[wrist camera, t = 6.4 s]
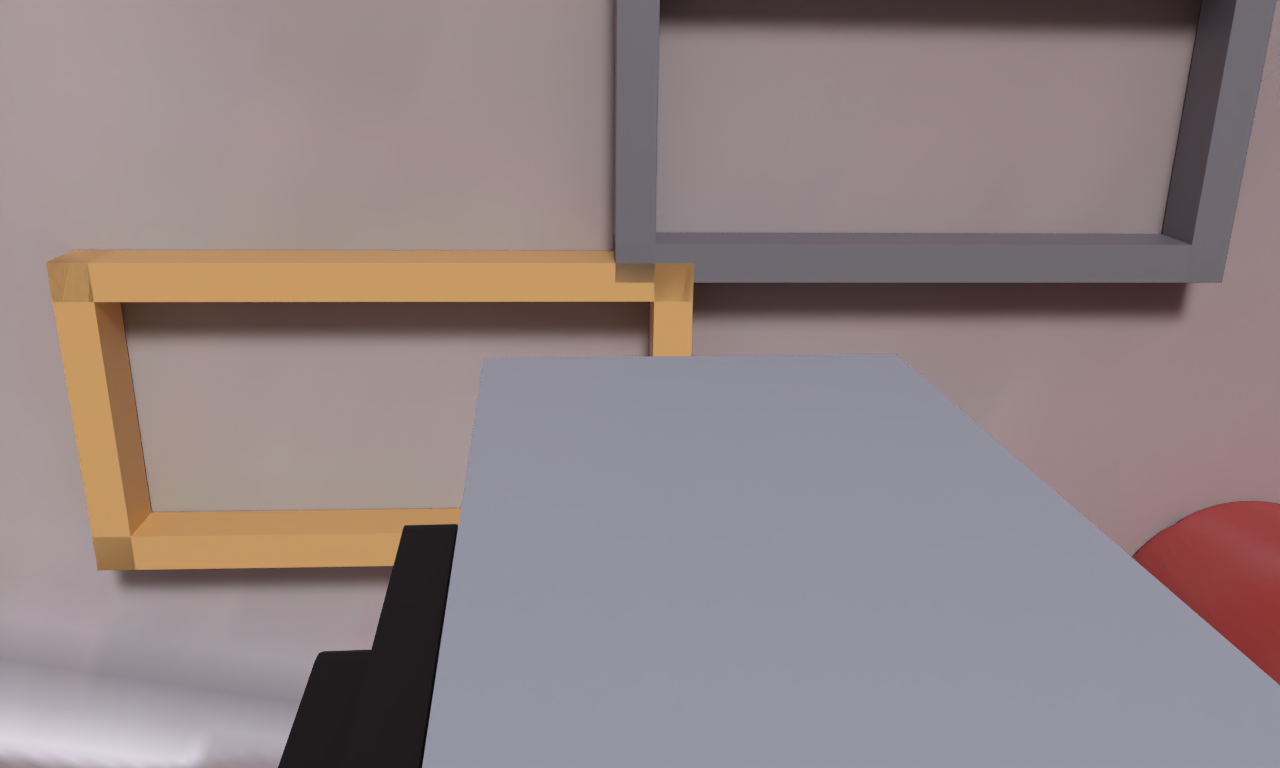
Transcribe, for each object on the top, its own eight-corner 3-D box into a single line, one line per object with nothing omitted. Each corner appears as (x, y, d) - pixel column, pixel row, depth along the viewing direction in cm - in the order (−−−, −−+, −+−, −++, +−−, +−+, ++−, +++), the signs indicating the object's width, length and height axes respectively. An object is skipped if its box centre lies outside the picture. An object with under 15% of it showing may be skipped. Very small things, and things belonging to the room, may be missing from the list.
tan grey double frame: (1251, -63, 27) (1289, -67, 25) (1142, 530, 32) (1168, 554, 31) (19, -87, 25) (-14, -93, 24) (120, 544, 30) (98, 570, 29)
